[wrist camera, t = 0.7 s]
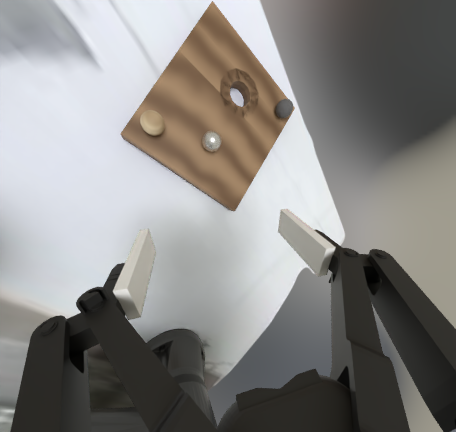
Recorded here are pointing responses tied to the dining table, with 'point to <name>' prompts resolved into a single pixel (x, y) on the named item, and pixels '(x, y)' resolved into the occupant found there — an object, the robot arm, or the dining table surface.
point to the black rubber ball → (284, 108)
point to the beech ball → (152, 122)
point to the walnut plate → (212, 112)
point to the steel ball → (211, 141)
